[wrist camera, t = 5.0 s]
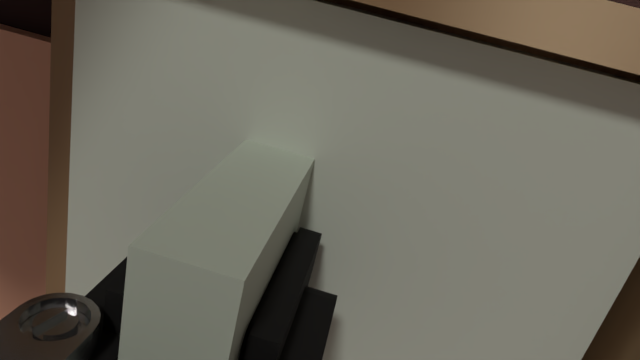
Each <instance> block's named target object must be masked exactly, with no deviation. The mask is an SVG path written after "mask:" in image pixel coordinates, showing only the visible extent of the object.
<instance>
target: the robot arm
mask: <svg viewBox="0 0 640 360" xmlns="http://www.w3.org/2000/svg"><path fill="white" fill-rule="evenodd" d="M321 236H322V233H319V232H315V231H312V230H308V229H305V228H302V227H300V228H299V230H298V232H293V234H292V236H291V238H290V240H289V243H288V245H287V247H286V249H285V251H284V253H283V255H282V257H281V259H280V261H279V263H278V265H277V267H276V269H275V271H274V273H273V275H272V277H271V280H270V282H269V284H268V286H267V288H266V290H265V292H264V294H263V296H262V298H261V300H260V302H259V304H258V306H257V308H256V310H255V312H254V314H253V317H252V319H251V321H250V323H249V325H248V328H247V330H246V333H245V336H244V339H243V343H242V346H241V351H240V355H239V360H322V359H323V354H324V350H325V346H326V342H327V338H328V334H329V330H330V326H331V322H332V317H333V313H334V309H335V305H336V301H337V296H338V295H335V294H331V293H328V292H325V291H321V290H318V289H315V288H311V287H308V285H309V281H310V277H311V273H312V270H313V266H314V262H315V259H316V255H317V251H318V247H319V244H320V240H321ZM126 266H127V257H126V258H125V259H124V260H123V261H122V262H121V263H120V264H118V265H117V266H116V267H115V268H114V269H113V270H112V271H111V272H110V273H109V274H108V275H107V276H106V277H105V278H104V279H102V280H101V281H100V282H99V283H98V284H97V285H96V286H95V287H94V288H93V289H92V290H91V291H90V292H89V293H88V294H87V295H85V296H83V295H78V294H74V293H51V294H44V295H41V296H38V297H35V298H32V299H30V300H28V301H26V302H25V303H23V304H21V305H20V306H18V307H17V308H16V309H14V310H13V311H12V312H10V313H9V314H8V315H6V316H5V317H4V318H2V319H1V320H0V360H118V353H119V342H120V331H121V320H122V309H123V299H124V288H125V277H126Z"/></svg>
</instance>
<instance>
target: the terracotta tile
mask: <svg viewBox="0 0 640 360" xmlns="http://www.w3.org/2000/svg"><path fill="white" fill-rule="evenodd" d="M50 62H51V38H50V37H47V36H43V35H40V34H36V33H32V32H29V31H25V30H22V29H18V28H14V27H11V26H7V25H4V24H0V320H1V319H2V318H4V317H5V316H6V315H8V314H9V313H10V312H12V311H13V310H14V309H16V308H17V307H18V306H20V305H21V304H23V303H25V302H26V301H28V300H30V299H32V298H35V297H38V296H41V295H44V294H46V254H47V206H48V158H49V110H50Z"/></svg>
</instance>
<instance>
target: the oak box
mask: <svg viewBox="0 0 640 360" xmlns="http://www.w3.org/2000/svg"><path fill="white" fill-rule="evenodd" d="M326 1H330V2H333V3H337V4H341V5H345V6H349V7H353V8H357V9H361V10H365V11H368V12H372V13H376V14H380V15H384V16H388V17H392V18H396V19H400V20H403V21H407V22H411V23H415V24H419V25H423V26H427V27H431V28H434V29H438V30H442V31H446V32H450V33H454V34H458V35H462V36H466V37H469V38H473V39H477V40H481V41H485V42H489V43H493V44H497V45H501V46H504V47H508V48H512V49H516V50H520V51H524V52H528V53H532V54H535V55H539V56H543V57H547V58H551V59H555V60H559V61H563V62H567V63H570V64H574V65H578V66H582V67H586V68H590V69H594V70H598V71H602V72H605V73H609V74H613V75H617V76H621V77H625V78H629V79H633V80H637V81H640V9H639V8H635V7H631V6H627V5H623V4H619V3H615V2H611V1H607V0H326ZM74 29H75V0H52V15H51V62H50V110H49V158H48V206H47V254H46V294H51V293H65V283H66V255H67V226H68V198H69V170H70V142H71V113H72V85H73V57H74ZM581 360H640V257H639V259H638V260H637V262H636V264H635V266H634V268H633V269H632V271H631V273H630V275H629V276H628V278H627V280H626V282H625V283H624V285H623V287H622V289H621V290H620V292H619V294H618V296H617V298H616V299H615V301H614V303H613V305H612V306H611V308H610V310H609V312H608V313H607V315H606V317H605V319H604V320H603V322H602V324H601V326H600V328H599V329H598V331H597V333H596V335H595V336H594V338H593V340H592V342H591V343H590V345H589V347H588V349H587V350H586V352H585V354H584V356H583V358H582V359H581Z"/></svg>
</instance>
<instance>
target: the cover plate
mask: <svg viewBox="0 0 640 360" xmlns="http://www.w3.org/2000/svg"><path fill="white" fill-rule="evenodd" d="M300 227H302V228H305V229H308V230H312V231H315V232H319V233H322V236H321V240H320V244H319V247H318V251H317V255H316V259H315V262H314V266H313V270H312V273H311V277H310V281H309V285H308V287H311V288H315V289H318V290H321V291H325V292H328V293H331V294H335V295H338V296H337V301H336V305H335V309H334V313H333V317H332V322H331V326H330V330H329V334H328V338H327V342H326V346H325V350H324V354H323V359H322V360H581V359H582V358H583V356H584V354H585V352H586V350H587V349H588V347H589V345H590V343H591V342H592V340H593V338H594V336H595V335H596V333H597V331H598V329H599V328H600V326H601V324H602V322H603V320H604V319H605V317H606V315H607V313H608V312H609V310H610V308H611V306H612V305H613V303H614V301H615V299H616V298H617V296H618V294H619V292H620V290H621V289H622V287H623V285H624V283H625V282H626V280H627V278H628V276H629V275H630V273H631V271H632V269H633V268H634V266H635V264H636V262H637V260H638V259H639V257H640V81H637V80H633V79H629V78H625V77H621V76H617V75H613V74H609V73H605V72H602V71H598V70H594V69H590V68H586V67H582V66H578V65H574V64H570V63H567V62H563V61H559V60H555V59H551V58H547V57H543V56H539V55H535V54H532V53H528V52H524V51H520V50H516V49H512V48H508V47H504V46H501V45H497V44H493V43H489V42H485V41H481V40H477V39H473V38H469V37H466V36H462V35H458V34H454V33H450V32H446V31H442V30H438V29H434V28H431V27H427V26H423V25H419V24H415V23H411V22H407V21H403V20H400V19H396V18H392V17H388V16H384V15H380V14H376V13H372V12H368V11H365V10H361V9H357V8H353V7H349V6H345V5H341V4H337V3H333V2H330V1H326V0H75V29H74V57H73V85H72V113H71V142H70V170H69V198H68V226H67V255H66V283H65V293H74V294H78V295H83V296H85V295H87V294H88V293H89V292H90V291H91V290H92V289H93V288H94V287H95V286H96V285H97V284H98V283H99V282H100V281H101V280H102V279H104V278H105V277H106V276H107V275H108V274H109V273H110V272H111V271H112V270H113V269H114V268H115V267H116V266H117V265H118V264H120V263H121V262H122V261H123V260H124V259H125V258H126V257H127V266H126V277H125V288H124V299H123V309H122V320H121V331H120V342H119V353H118V360H239V355H240V351H241V346H242V343H243V339H244V336H245V333H246V330H247V328H248V325H249V323H250V321H251V319H252V317H253V314H254V312H255V310H256V308H257V306H258V304H259V302H260V300H261V298H262V296H263V294H264V292H265V290H266V288H267V286H268V284H269V282H270V280H271V277H272V275H273V273H274V271H275V269H276V267H277V265H278V263H279V261H280V259H281V257H282V255H283V253H284V251H285V249H286V247H287V245H288V243H289V240H290V238H291V236H292V234H293V232H298V230H299V228H300Z"/></svg>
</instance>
